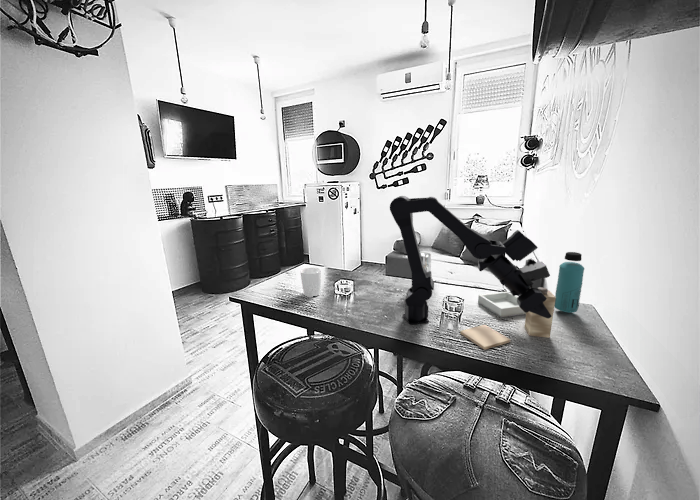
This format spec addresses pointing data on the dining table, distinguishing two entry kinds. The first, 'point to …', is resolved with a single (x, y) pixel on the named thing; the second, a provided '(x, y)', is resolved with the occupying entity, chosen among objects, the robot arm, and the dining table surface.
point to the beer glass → (426, 260)
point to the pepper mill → (541, 317)
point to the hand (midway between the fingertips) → (545, 311)
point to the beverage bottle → (569, 284)
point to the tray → (501, 304)
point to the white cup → (311, 281)
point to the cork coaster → (485, 337)
